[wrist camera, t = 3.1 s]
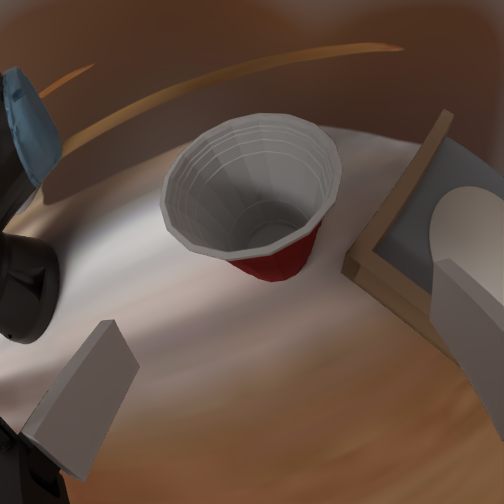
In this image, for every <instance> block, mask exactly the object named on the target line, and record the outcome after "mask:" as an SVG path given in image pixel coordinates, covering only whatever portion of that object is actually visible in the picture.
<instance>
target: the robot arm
mask: <svg viewBox="0 0 504 504" xmlns="http://www.w3.org/2000/svg"><path fill="white" fill-rule="evenodd" d="M61 155H62V142H61V138H60V136H59V133H58V131H57V129H56V127H55V125H54V122H53V121H52V118H51V117H50V115H49V113H48V111H47V109H46V107H45V105H44V104H43V102H42V100H41V98H40V97H39V95H38V93H37V92H36V90H35V88H34V87H33V85H32V84H31V82H30V81H29V79H28V78H27V77H26V76H25V75H24V73H23V72H22V70H21V69H19V68H18V67H12V68H11V69H8V70H6V71H5V72H4V74H3V75H2V74H1V73H0V333H1V334H2V335H4V336H5V337H6V338H7V339H9V340H11V341H14V342H18V343H22V344H30V343H32V342H34V341H35V340H37V339H38V338H39V337H40V336H41V334H42V333H43V332H44V330H45V329H46V327H47V325H48V323H49V321H50V319H51V316H52V314H53V311H54V307H55V304H56V300H57V295H58V288H59V265H58V260H57V256H56V254H55V252H54V250H53V249H52V248H51V247H50V246H49V245H47V244H46V243H44V242H42V241H41V240H39V239H36V238H31V237H25V236H19V235H13V234H6V233H4V232H2V231H3V229H4V228H5V227H6V225H7V224H8V223H9V221H10V220H11V219H12V217H13V216H14V215H15V214H16V212H17V211H18V210H19V209H20V207H21V206H22V205H23V204H24V202H25V201H26V200H27V199H28V198H29V196H30V195H31V194H32V193H33V192H34V191H35V190H36V188H37V189H38V188H39V187H40V186H41V184H42V181H43V180H44V179H45V178H46V176H47V175H48V174H49V173H50V172H51V170H52V169H53V168H54V167H55V166H56V165H57V164H58V162H59V161H60V158H61ZM429 321H430V322H431V324H432V325H433V326H434V328H435V329H436V331H437V332H438V334H439V335H440V337H441V338H442V339H443V341H444V342H445V344H446V345H447V347H448V348H449V350H450V351H451V353H452V354H453V356H454V358H455V359H456V361H457V362H458V364H459V365H460V367H461V368H462V370H463V372H464V373H465V375H466V377H467V378H468V380H469V382H470V383H471V385H472V387H473V388H474V390H475V392H476V393H477V395H478V397H479V399H480V400H481V402H482V404H483V406H484V408H485V409H486V411H487V413H488V415H489V417H490V419H491V421H492V422H493V424H494V426H495V428H496V430H497V432H498V434H499V436H500V438H501V440H502V442H503V441H504V306H503V305H502V304H501V303H500V302H499V301H498V300H497V299H496V298H494V297H493V296H492V295H491V294H490V293H489V292H488V291H487V290H486V289H485V288H484V287H483V286H481V285H480V284H479V283H478V282H477V281H476V280H475V279H474V278H472V277H471V276H470V275H469V274H468V273H467V272H465V271H464V270H463V269H462V268H461V267H460V266H458V265H457V264H456V263H455V262H454V261H452V260H451V259H450V258H447V259H444V260H440V261H436V262H434V271H433V287H432V299H431V309H430V318H429ZM139 367H140V366H139V364H138V362H137V361H136V359H135V357H134V356H133V354H132V352H131V350H130V349H129V347H128V345H127V343H126V341H125V339H124V338H123V336H122V334H121V332H120V330H119V328H118V326H117V324H116V322H115V320H104V321H101V322H100V323H99V324H98V326H97V327H96V328H95V329H94V331H93V332H92V333H91V334H90V336H89V337H88V338H87V339H86V341H85V342H84V343H83V344H82V346H81V347H80V348H79V350H78V351H77V352H76V354H75V355H74V356H73V357H72V359H71V360H70V361H69V363H68V364H67V365H66V367H65V368H64V369H63V371H62V372H61V374H60V375H59V376H58V378H57V379H56V380H55V382H54V383H53V385H52V386H51V387H50V389H49V390H48V391H47V392H46V394H45V395H44V397H43V398H42V400H41V401H40V403H39V404H38V405H37V408H35V410H34V411H33V413H32V414H31V416H30V417H29V419H28V420H27V422H26V423H25V425H24V427H23V428H22V430H21V431H20V433H19V434H18V435H17V434H16V433H15V432H14V431H13V430H12V429H11V428H10V426H9V425H8V424H7V423H6V422H5V421H4V420H3V419H2V418H1V417H0V504H70V502H69V499H68V495H67V491H66V486H65V482H64V479H63V476H62V475H61V474H60V473H59V471H60V469H62V470H63V471H64V472H65V473H67V474H68V475H69V476H70V477H72V478H75V479H78V480H80V481H83V482H85V481H86V479H87V476H88V474H89V472H90V469H91V467H92V465H93V463H94V460H95V458H96V456H97V454H98V452H99V449H100V447H101V445H102V443H103V441H104V439H105V436H106V434H107V432H108V430H109V428H110V426H111V424H112V422H113V420H114V418H115V415H116V413H117V411H118V409H119V407H120V405H121V403H122V401H123V399H124V397H125V395H126V393H127V391H128V389H129V387H130V385H131V383H132V381H133V379H134V377H135V375H136V373H137V371H138V369H139Z"/></svg>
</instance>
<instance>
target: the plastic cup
mask: <svg viewBox="0 0 504 504" xmlns="http://www.w3.org/2000/svg"><path fill="white" fill-rule="evenodd" d="M342 172H343V167H342V164H341V160H340V157H339V154H338V151H337V148H336V145H335V142H334V141H333V140H332V139H331V138H330V137H328V136H327V135H326V134H325V133H324V132H323V131H322V130H321V129H320V128H319V127H318V126H317V125H315V124H314V123H311V122H308V121H306V120H303V119H300V118H298V117H295V116H292V115H289V114H271V113H257V114H253V115H248V116H244V117H239V118H235V119H231V120H228V121H226V122H224V123H222V124H220V125H218V126H216V127H214V128H212V129H210V130H208V131H206V132H205V133H203V134H201V135H200V136H199V137H198V138H196V139H195V140H194V141H193V142H192V143H191V144H190V145H189V146H187V147H186V148H185V149H184V150H183V151H182V152H181V153H180V154H179V155H178V157H177V158H176V160H175V162H174V163H173V165H172V166H171V168H170V170H169V171H168V173H167V175H166V176H165V178H164V183H163V188H162V193H161V199H160V204H159V205H160V208H161V212H162V215H163V218H164V222H165V225H166V228H167V231H169V232H170V233H171V234H172V235H173V236H174V237H175V238H176V239H177V240H178V241H179V242H181V243H182V244H183V245H184V246H185V247H186V248H187V249H188V250H190V251H192V252H195V253H199V254H203V255H207V256H211V257H215V258H219V259H223V260H226V261H227V262H229V263H231V264H232V265H234V266H236V267H237V268H239V269H241V270H242V271H244V272H246V273H247V274H250V275H253V276H255V277H256V278H258V279H262V280H265V281H269V282H276V281H285V280H287V279H288V278H290V277H292V276H294V275H296V274H297V273H298V272H299V271H300V270H301V268H302V267H303V266H304V265H305V264H306V261H307V258H308V256H309V255H310V253H311V250H312V247H313V244H314V241H315V238H316V234H317V231H318V228H319V227H320V226H321V223H322V219H323V218H324V216H325V215H326V214H327V212H328V211H329V210H330V209H331V208H332V206H333V205H334V203H335V201H336V197H337V193H338V189H339V185H340V180H341V176H342Z"/></svg>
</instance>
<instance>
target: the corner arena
mask: <svg viewBox="0 0 504 504" xmlns="http://www.w3.org/2000/svg"><path fill="white" fill-rule="evenodd" d="M453 117H454V114H452V113H450V112H449V111H447V110H445V109H443V111H442V113H441V114H440V116H439V118H438V120H437V121H436V123H435V125H434V126H433V128H432V130H431V131H430V133H429V134H428V136H427V138H426V139H425V141H424V143H423V144H422V146H421V147H420V149H419V150H418V152H417V154H416V155H415V157H414V158H413V160H412V161H411V163H410V164H409V166H408V167H407V169H406V170H405V172H404V173H403V175H402V176H401V178H400V179H399V181H398V182H397V184H396V185H395V187H394V188H393V190H392V191H391V193H390V194H389V195H388V197H387V198H386V200H385V201H384V203H383V204H382V205H381V207H380V208H379V210H378V211H377V212H376V214H375V215H374V217H373V218H372V219H371V221H370V222H369V223H368V225H367V226H366V228H365V229H364V230H363V232H362V233H361V234H360V236H359V237H358V238H357V240H356V241H355V242H354V244H353V245H352V246H351V247H350V249H349V250H348V251H347V253H346V255H345V259H344V263H343V267H342V271H341V273H342V274H343V275H345V276H346V277H347V278H349V279H350V280H351V281H353V282H354V283H355V284H357V285H358V286H359V287H361V288H362V289H363V290H365V291H366V292H367V293H369V294H370V295H371V296H372V297H374V298H375V299H376V300H378V301H379V302H380V303H382V304H383V305H384V306H385V307H387V308H388V309H389V310H391V311H392V312H393V313H394V314H396V315H397V316H398V317H399V318H401V319H402V320H403V321H404V322H406V323H407V324H408V325H410V326H411V327H412V328H413V329H415V330H416V331H417V332H418V333H419V334H421V335H422V336H423V337H424V338H426V339H427V340H428V341H429V342H431V343H432V344H433V345H434V346H435V347H437V348H438V349H439V350H440V351H442V352H443V353H444V354H445V355H446V356H448V357H449V358H450V359H451V360H452V361H454V362H455V363H456V364H457V365H458V366H460V365H459V364H458V362H457V361H456V359H455V358H454V356H453V354H452V353H451V351H450V350H449V348H448V347H447V345H446V344H445V342H444V341H443V339H442V338H441V337H440V335H439V334H438V332H437V331H436V329H435V328H434V326H433V325H432V324H431V322H430V321H429V318H430V309H431V299H432V287H433V271H434V262H436V261H440V260H444V259H447V258H450V259H451V260H452V261H454V262H455V263H456V264H457V265H458V266H460V267H461V268H462V269H463V270H464V271H465V272H467V273H468V274H469V275H470V276H471V277H472V278H474V279H475V280H476V281H477V282H478V283H479V284H480V285H481V286H483V287H484V288H485V289H486V290H487V291H488V292H489V293H490V294H491V295H492V296H493V297H494V298H496V299H497V300H498V301H499V302H500V303H501V304H502V305H503V306H504V177H503V176H502V175H501V174H499V173H498V172H497V171H496V170H494V169H493V168H492V167H491V166H489V165H488V164H486V163H485V162H484V161H482V160H481V159H480V158H478V157H477V156H476V155H474V154H473V153H471V152H470V151H468V150H467V149H466V148H464V147H463V146H461V145H460V144H458V143H457V142H455V141H454V140H452V139H451V138H449V137H447V136H446V135H447V133H448V130H449V128H450V125H451V122H452V120H453Z"/></svg>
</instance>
